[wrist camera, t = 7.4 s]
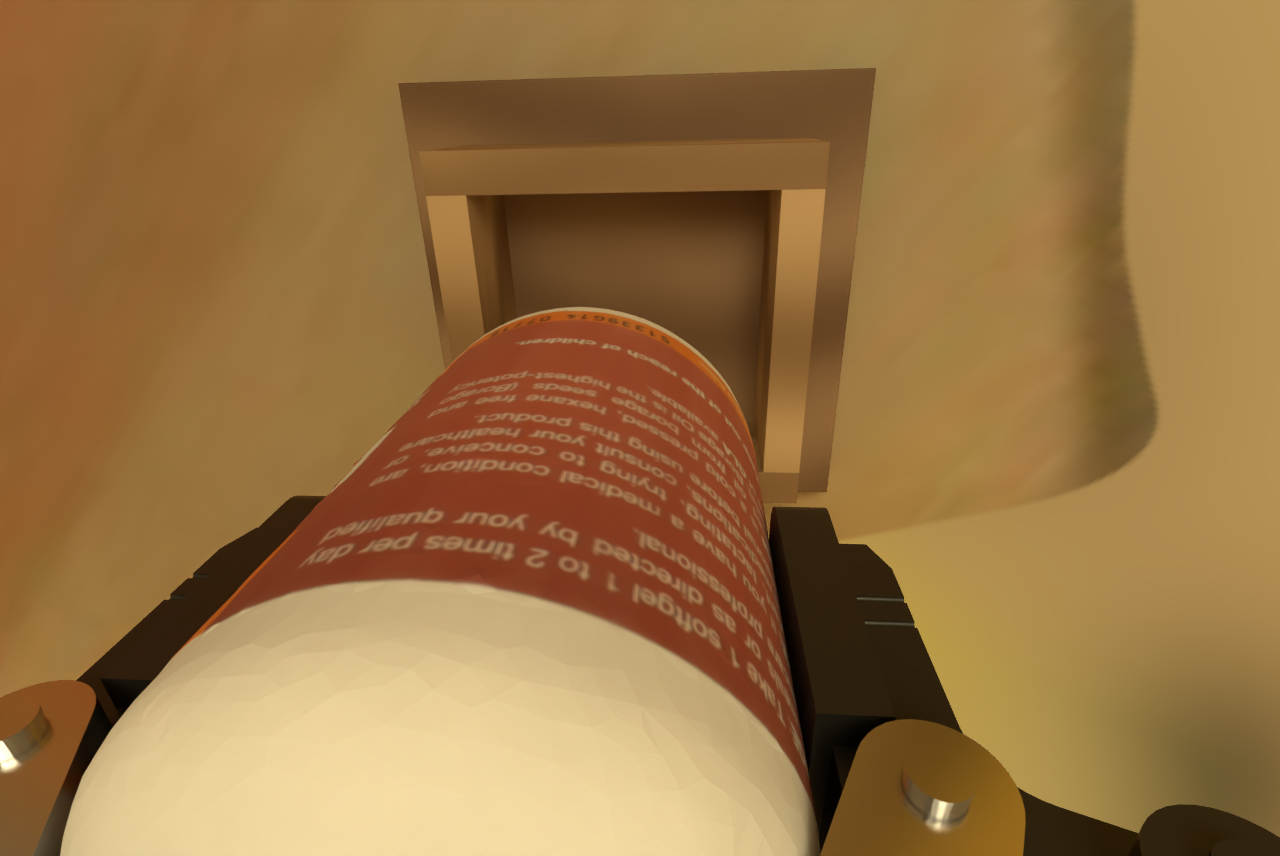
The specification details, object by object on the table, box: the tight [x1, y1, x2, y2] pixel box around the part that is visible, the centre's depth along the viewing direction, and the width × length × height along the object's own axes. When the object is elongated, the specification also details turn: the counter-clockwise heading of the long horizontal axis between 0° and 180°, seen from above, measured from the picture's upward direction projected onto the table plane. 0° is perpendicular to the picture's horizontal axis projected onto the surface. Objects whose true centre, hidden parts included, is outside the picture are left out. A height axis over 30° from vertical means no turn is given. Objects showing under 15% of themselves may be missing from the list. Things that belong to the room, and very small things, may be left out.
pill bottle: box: [60, 307, 821, 856], centre depth 8 cm, size 6×6×11 cm
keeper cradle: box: [398, 68, 876, 503], centre depth 21 cm, size 14×14×5 cm
